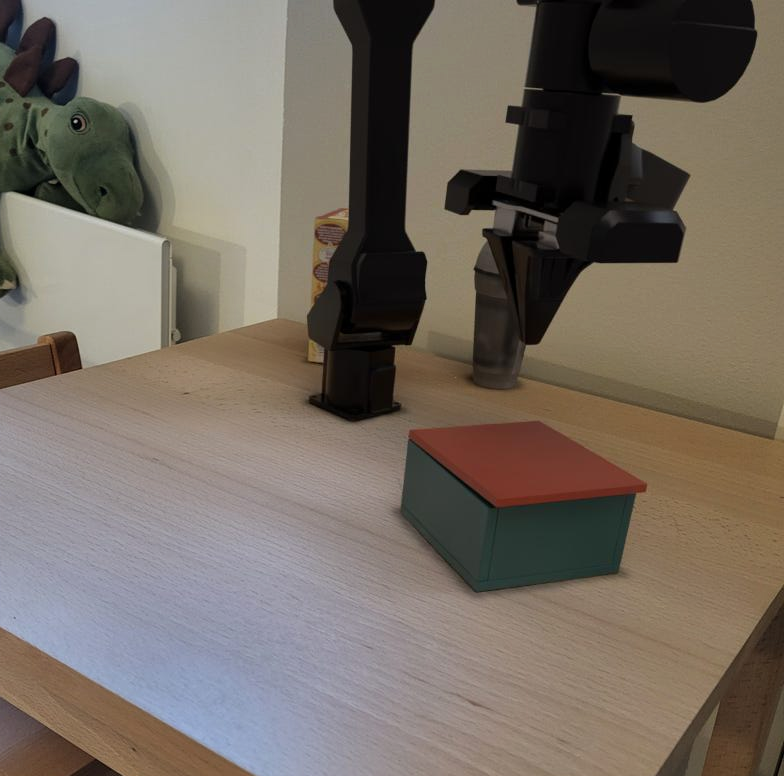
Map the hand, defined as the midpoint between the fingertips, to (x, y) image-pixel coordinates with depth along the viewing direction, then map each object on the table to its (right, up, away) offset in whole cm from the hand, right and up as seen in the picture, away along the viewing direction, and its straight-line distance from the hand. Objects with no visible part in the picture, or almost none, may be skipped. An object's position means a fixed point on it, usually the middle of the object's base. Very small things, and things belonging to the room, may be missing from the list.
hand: (529, 343), depth 62 cm
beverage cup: (+5, +1, +34) cm, 35 cm away
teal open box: (-2, -13, +1) cm, 13 cm away
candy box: (-12, +5, +41) cm, 42 cm away
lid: (-1, -8, -2) cm, 8 cm away
